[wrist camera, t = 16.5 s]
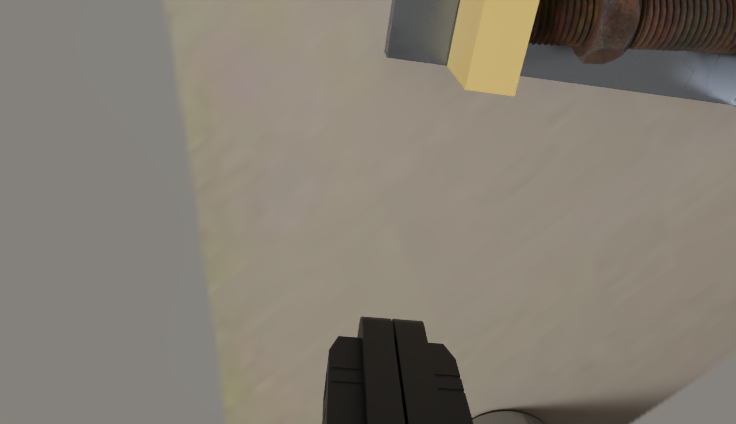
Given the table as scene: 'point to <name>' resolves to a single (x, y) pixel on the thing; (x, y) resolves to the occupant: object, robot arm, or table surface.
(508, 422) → the robot arm
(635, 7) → the bolt
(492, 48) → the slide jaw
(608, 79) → the plate
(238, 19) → the table surface
